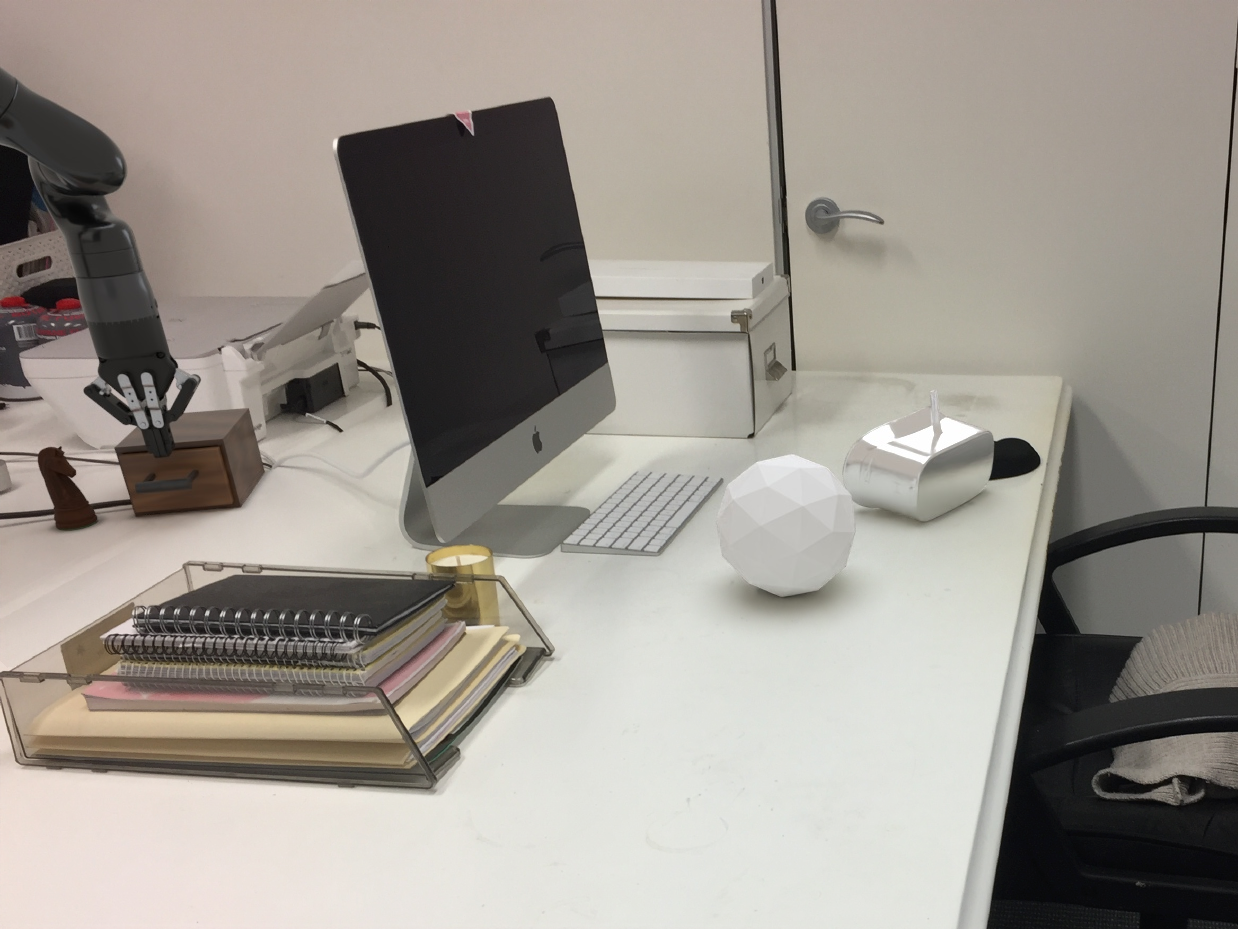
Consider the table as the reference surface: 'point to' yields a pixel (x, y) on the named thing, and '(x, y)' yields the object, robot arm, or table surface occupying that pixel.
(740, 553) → the geometric sphere
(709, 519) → the table surface
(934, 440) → the vr headset
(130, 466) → the drawer
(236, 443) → the cabinet
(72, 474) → the chess piece
